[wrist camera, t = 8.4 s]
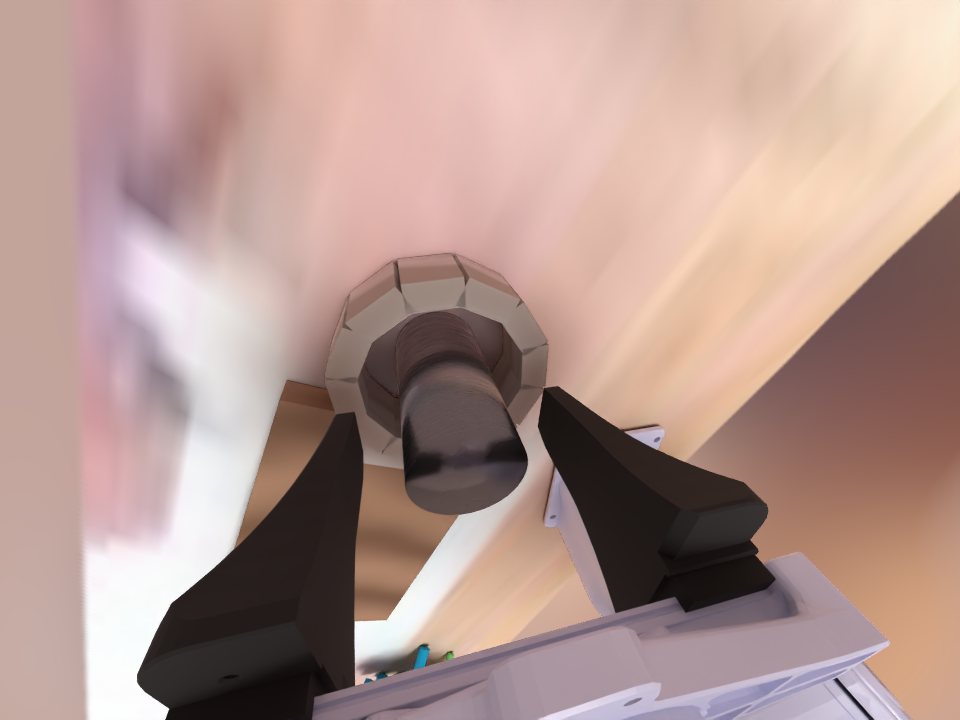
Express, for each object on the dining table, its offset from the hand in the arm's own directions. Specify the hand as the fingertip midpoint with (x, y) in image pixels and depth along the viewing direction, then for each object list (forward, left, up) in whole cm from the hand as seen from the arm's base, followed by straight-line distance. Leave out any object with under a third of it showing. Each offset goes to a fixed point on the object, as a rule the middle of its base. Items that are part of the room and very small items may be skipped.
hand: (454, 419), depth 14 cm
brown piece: (-9, +4, -5) cm, 11 cm away
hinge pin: (0, 0, -5) cm, 5 cm away
